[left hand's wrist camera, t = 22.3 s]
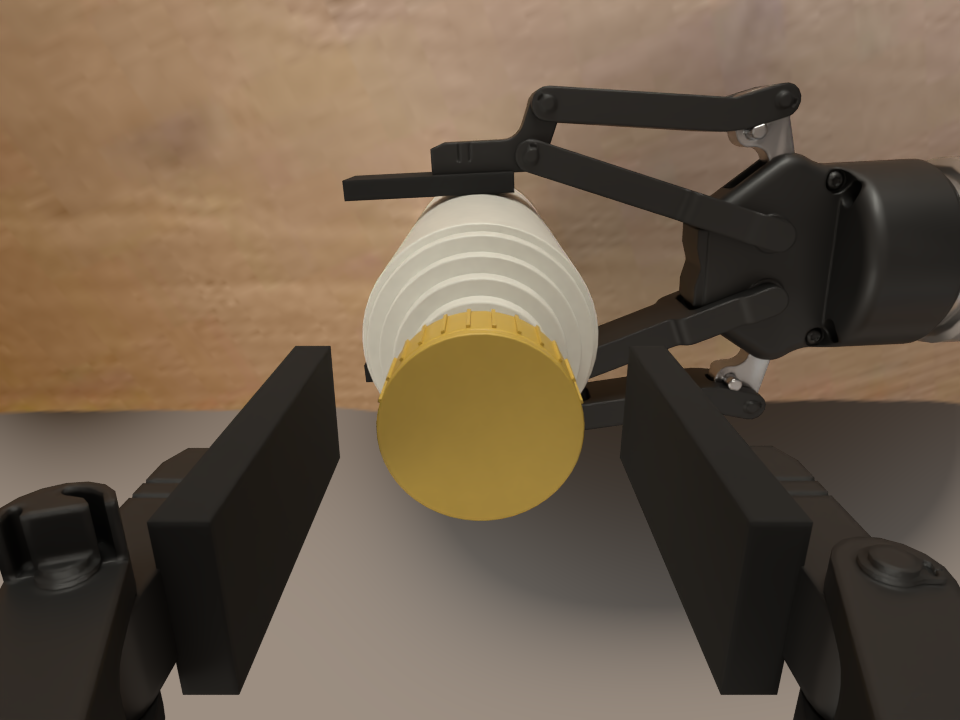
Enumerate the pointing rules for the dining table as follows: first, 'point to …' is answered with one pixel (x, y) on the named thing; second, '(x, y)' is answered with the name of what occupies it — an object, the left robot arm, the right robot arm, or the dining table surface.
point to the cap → (480, 416)
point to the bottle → (480, 280)
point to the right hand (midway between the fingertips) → (361, 279)
